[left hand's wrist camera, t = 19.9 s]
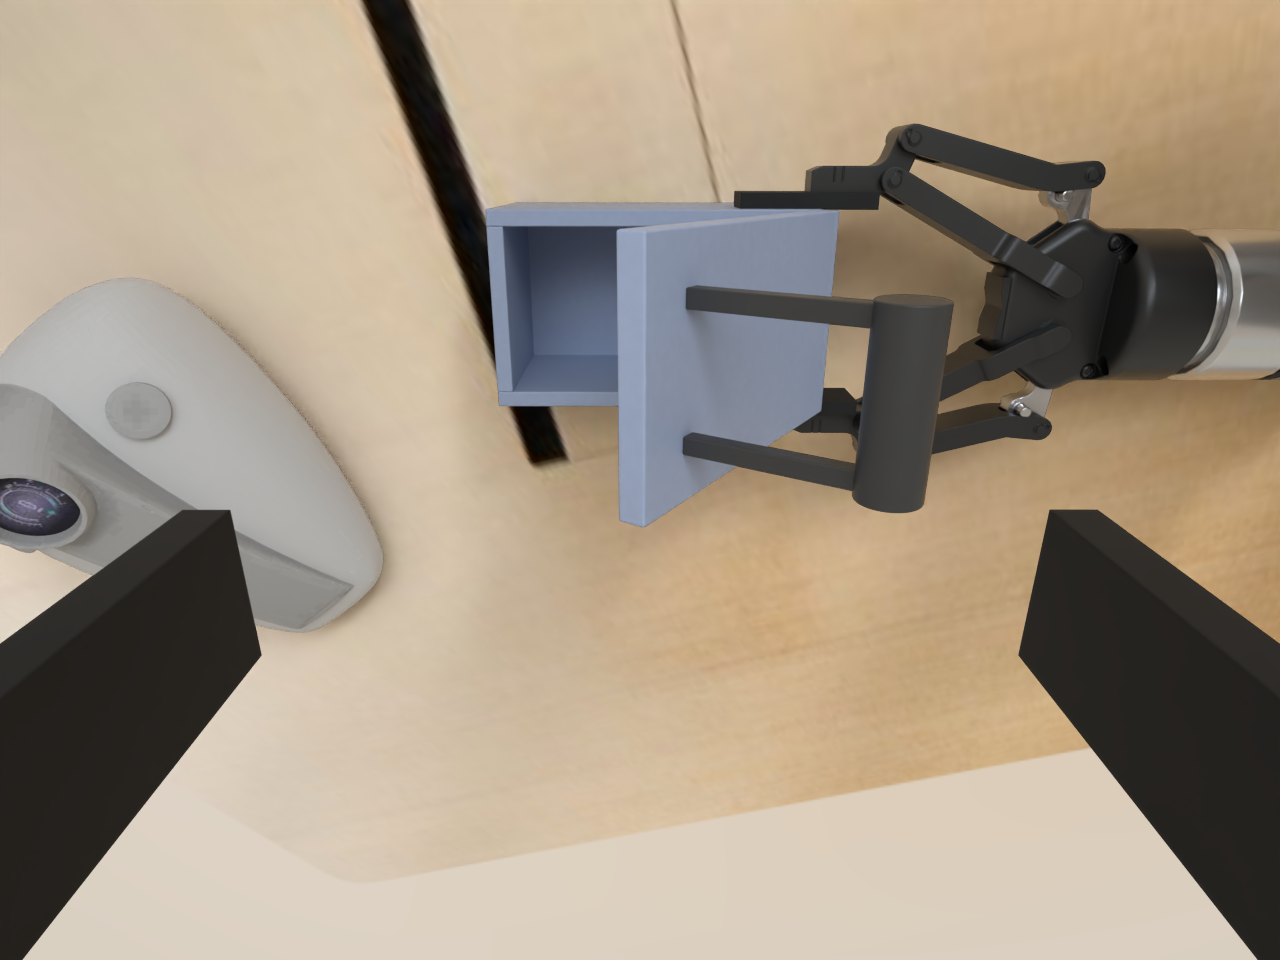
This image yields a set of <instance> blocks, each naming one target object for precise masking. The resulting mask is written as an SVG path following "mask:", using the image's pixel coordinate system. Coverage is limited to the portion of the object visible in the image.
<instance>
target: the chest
mask: <svg viewBox="0 0 1280 960" xmlns="http://www.w3.org/2000/svg"><path fill="white" fill-rule="evenodd" d="M814 210H824V209H740V208H737V207H734V203H512V204H508V205H503V206H499V207H494V208H490V209H486V224H487V226H488V227H487V240H488V255H489V269H490V284H491V298H492V313H493V328H494V342H495V357H496V371H497V386H498V391H499V392H498V399H499V406H618V335H617V230H619V229H625V228H636V227H646V226H657V225H667V224H678V223H688V222H699V221H709V220H719V219H730V218H740V217H751V216H761V215H772V214H782V213H793V212H803V211H814Z"/></svg>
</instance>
